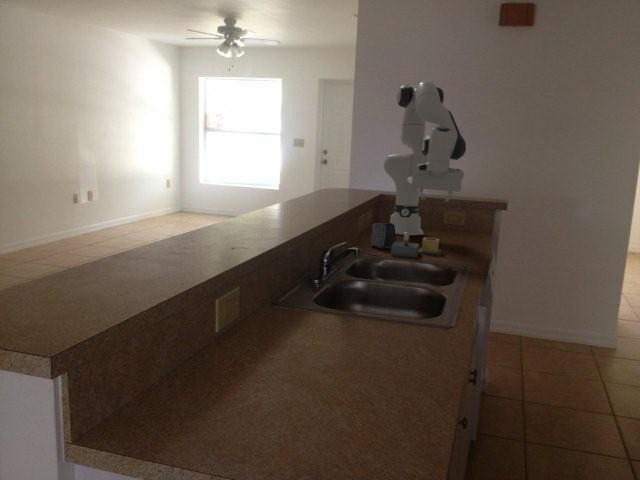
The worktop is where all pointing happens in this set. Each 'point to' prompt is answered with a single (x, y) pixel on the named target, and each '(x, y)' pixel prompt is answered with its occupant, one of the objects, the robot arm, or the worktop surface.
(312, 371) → the worktop surface
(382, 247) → the stone
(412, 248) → the post block
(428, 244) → the ring
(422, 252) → the mat
